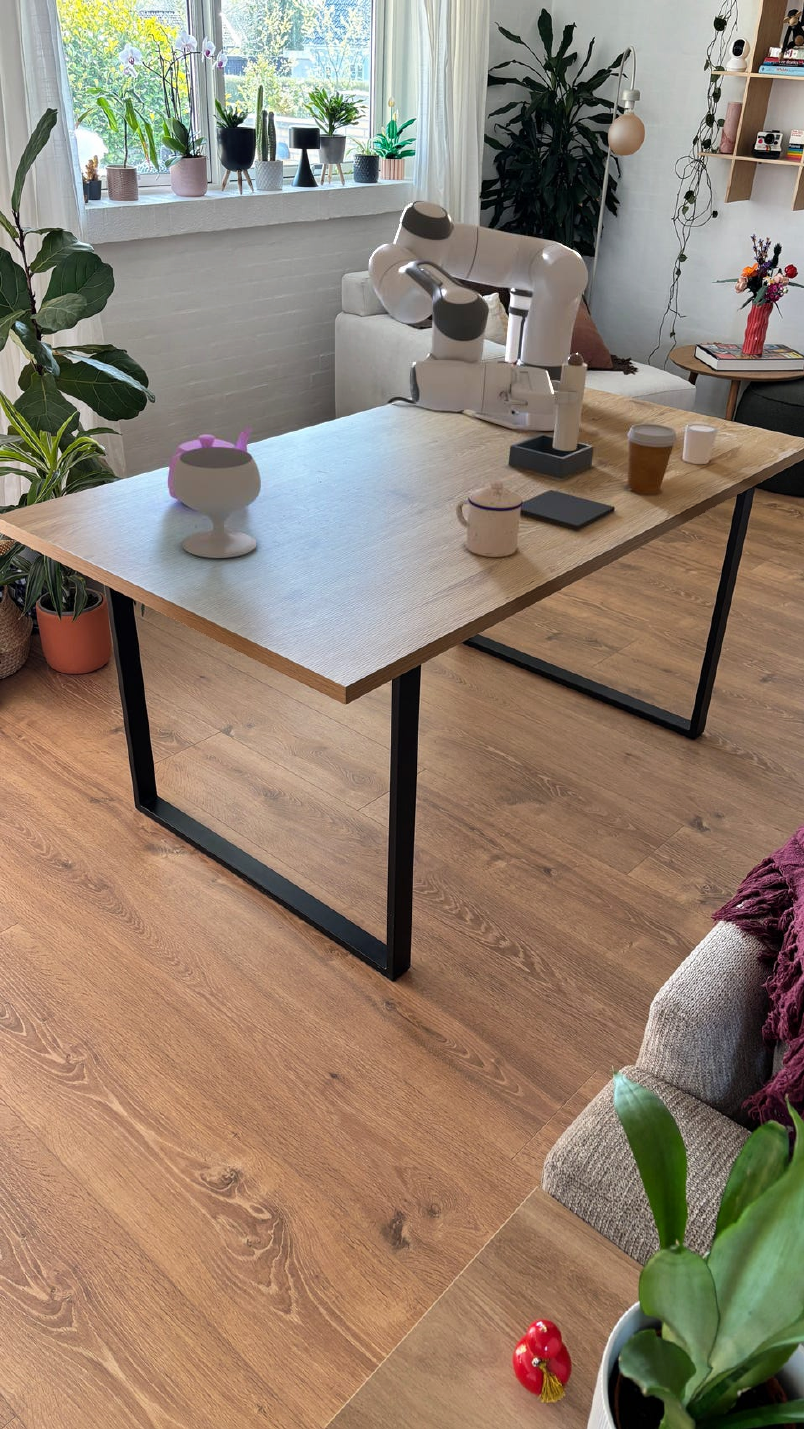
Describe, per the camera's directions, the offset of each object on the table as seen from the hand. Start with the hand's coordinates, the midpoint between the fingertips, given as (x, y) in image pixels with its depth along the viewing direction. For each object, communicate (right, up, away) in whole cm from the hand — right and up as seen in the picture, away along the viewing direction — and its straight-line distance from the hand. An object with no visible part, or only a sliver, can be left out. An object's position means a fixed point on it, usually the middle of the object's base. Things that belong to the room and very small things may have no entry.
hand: (576, 393), depth 195 cm
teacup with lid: (-17, -29, -10) cm, 35 cm away
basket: (-1, -6, +31) cm, 31 cm away
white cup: (+32, -3, +40) cm, 52 cm away
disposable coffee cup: (+17, -13, +21) cm, 30 cm away
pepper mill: (-1, -9, +5) cm, 10 cm away
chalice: (-62, -30, -15) cm, 70 cm away
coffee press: (0, +27, +88) cm, 92 cm away
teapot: (-66, -18, +5) cm, 69 cm away
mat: (-1, -20, +7) cm, 21 cm away
